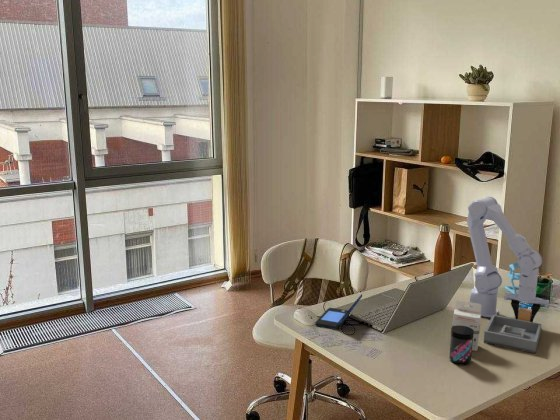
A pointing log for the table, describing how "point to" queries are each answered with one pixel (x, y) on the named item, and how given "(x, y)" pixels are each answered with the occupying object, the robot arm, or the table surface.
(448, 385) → the table surface
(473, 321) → the ink box
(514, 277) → the chair
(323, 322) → the black screen device
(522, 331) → the socket
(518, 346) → the walled box
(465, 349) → the supplement container
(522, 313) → the orange brown rectangular block
